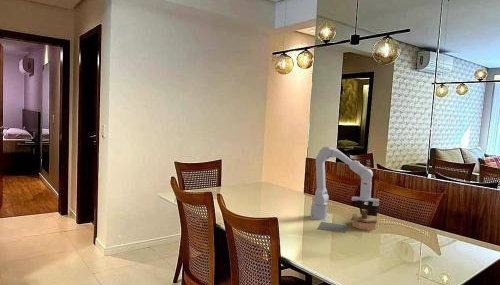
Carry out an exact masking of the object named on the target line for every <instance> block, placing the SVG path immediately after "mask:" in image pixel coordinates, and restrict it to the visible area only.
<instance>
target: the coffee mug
mask: <svg viewBox="0 0 500 285" xmlns="http://www.w3.org/2000/svg"><path fill="white" fill-rule="evenodd" d="M379 206H380V203H373V205H372V207H371V209H370V211H369V216H377V217H378V212H379ZM362 208H363V210H368V202H364V203H363V204H362Z"/></svg>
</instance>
